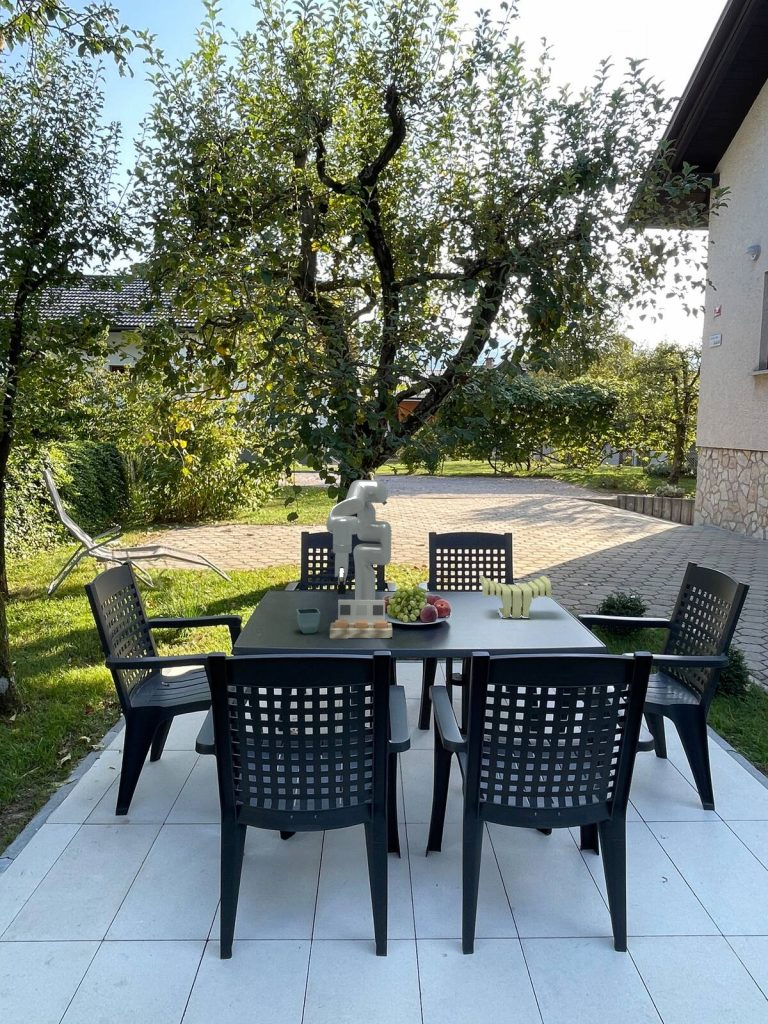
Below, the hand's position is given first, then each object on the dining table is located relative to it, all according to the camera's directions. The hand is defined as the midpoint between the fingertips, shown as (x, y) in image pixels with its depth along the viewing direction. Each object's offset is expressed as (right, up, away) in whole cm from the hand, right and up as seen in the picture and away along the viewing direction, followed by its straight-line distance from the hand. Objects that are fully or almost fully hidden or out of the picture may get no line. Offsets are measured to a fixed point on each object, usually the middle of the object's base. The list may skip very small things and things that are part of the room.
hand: (341, 592), depth 294 cm
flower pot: (-14, -17, +5) cm, 23 cm away
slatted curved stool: (+77, -16, +39) cm, 88 cm away
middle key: (+8, -16, +2) cm, 18 cm away
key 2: (+16, -16, +2) cm, 22 cm away
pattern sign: (+7, -16, +17) cm, 24 cm away
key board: (+8, -18, +2) cm, 19 cm away
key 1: (0, -16, +1) cm, 16 cm away
